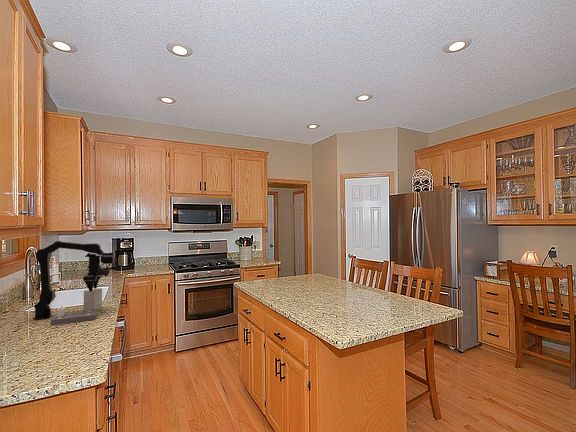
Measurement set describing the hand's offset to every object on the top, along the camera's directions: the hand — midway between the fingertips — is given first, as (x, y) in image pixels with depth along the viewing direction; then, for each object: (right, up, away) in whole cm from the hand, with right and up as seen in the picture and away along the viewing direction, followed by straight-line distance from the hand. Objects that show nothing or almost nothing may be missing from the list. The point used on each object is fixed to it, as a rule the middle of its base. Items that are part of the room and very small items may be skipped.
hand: (93, 289), depth 187 cm
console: (-1, -14, -14) cm, 19 cm away
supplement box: (-5, -14, +7) cm, 17 cm away
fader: (-7, -10, -17) cm, 21 cm away
